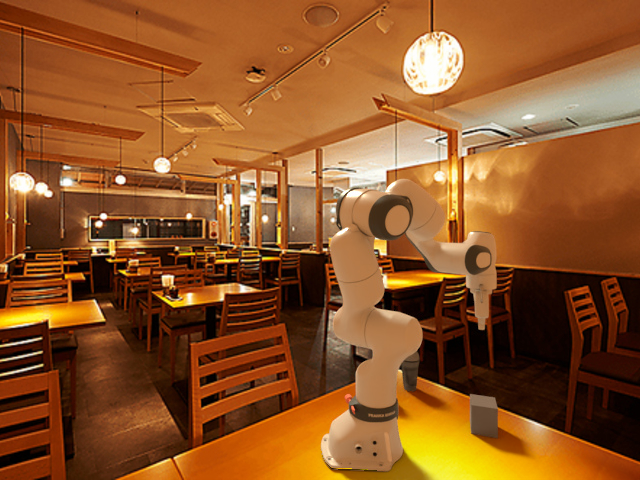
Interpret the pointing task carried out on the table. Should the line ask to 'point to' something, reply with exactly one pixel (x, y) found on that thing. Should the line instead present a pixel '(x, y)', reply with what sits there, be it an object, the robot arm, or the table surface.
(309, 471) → the table surface
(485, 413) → the matte grey cube
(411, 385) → the beverage cup
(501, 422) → the table surface
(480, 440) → the table surface
